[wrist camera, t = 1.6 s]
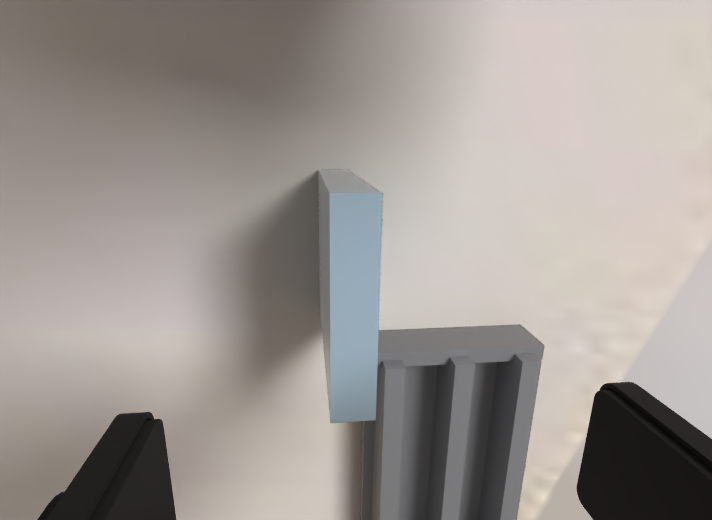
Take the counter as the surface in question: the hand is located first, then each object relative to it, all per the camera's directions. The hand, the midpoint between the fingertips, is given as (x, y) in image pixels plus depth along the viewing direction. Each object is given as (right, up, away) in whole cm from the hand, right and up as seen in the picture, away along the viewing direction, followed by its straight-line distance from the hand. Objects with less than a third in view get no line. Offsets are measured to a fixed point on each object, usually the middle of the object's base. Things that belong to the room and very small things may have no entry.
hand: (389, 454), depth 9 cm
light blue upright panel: (-2, +5, +17) cm, 18 cm away
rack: (+5, -9, +22) cm, 24 cm away
